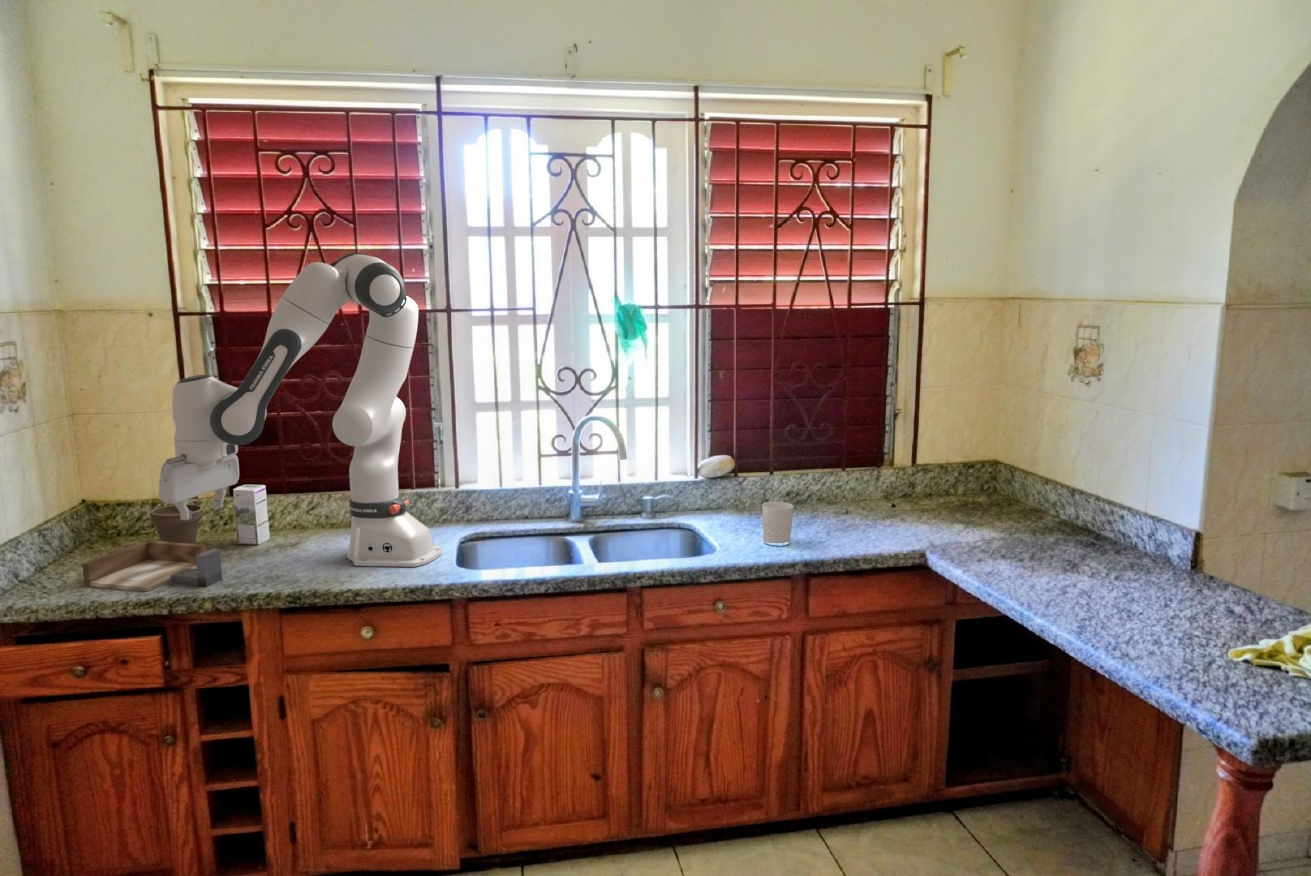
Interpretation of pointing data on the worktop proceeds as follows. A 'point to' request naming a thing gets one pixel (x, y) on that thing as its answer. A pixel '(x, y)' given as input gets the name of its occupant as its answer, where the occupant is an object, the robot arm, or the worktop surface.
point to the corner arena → (141, 565)
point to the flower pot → (176, 523)
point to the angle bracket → (201, 571)
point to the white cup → (777, 521)
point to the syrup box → (251, 514)
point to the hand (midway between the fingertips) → (202, 513)
